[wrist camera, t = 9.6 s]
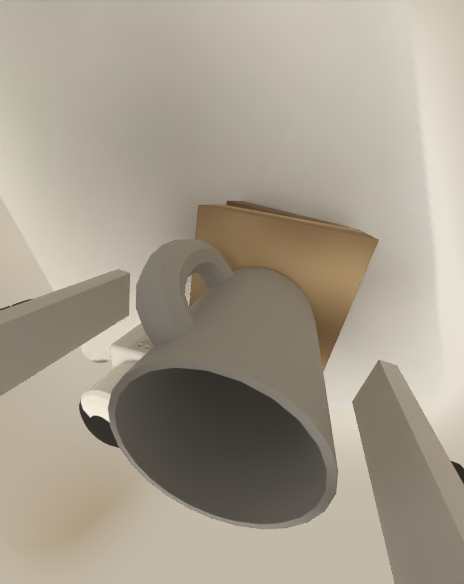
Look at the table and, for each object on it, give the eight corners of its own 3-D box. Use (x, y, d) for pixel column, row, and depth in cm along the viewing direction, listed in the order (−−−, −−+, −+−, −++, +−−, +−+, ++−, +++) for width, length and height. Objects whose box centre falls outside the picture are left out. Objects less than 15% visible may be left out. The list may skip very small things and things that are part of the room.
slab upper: (225, 204, 18) (198, 205, 14) (358, 229, 16) (378, 239, 11) (208, 330, 23) (184, 360, 18) (308, 362, 21) (309, 405, 16)
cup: (235, 372, 17) (181, 524, 9) (164, 254, 15) (11, 320, 7) (332, 346, 14) (377, 535, 6) (262, 196, 12) (195, 195, 4)
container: (204, 373, 31) (145, 471, 20) (156, 359, 33) (76, 442, 22) (205, 325, 29) (136, 408, 17) (152, 313, 30) (57, 381, 19)
